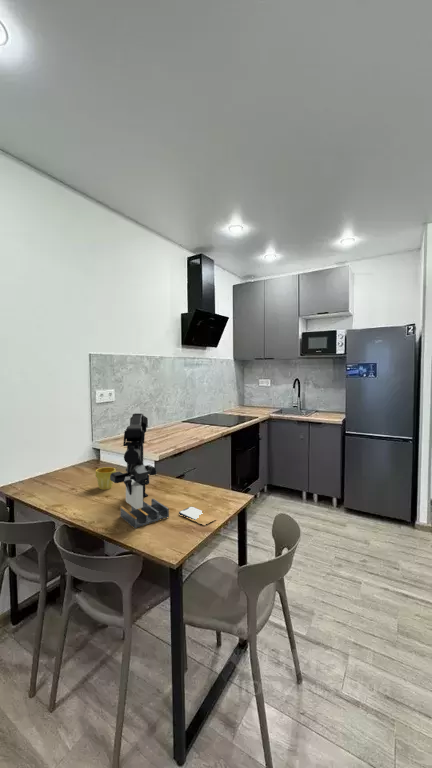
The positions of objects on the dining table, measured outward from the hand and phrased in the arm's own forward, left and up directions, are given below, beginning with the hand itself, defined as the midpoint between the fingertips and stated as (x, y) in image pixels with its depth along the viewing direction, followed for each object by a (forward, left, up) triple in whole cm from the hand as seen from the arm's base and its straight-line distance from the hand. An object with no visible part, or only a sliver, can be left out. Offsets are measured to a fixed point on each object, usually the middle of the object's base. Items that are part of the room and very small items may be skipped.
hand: (134, 493), depth 135 cm
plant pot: (-45, +5, -12) cm, 47 cm away
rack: (0, +5, -11) cm, 12 cm away
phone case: (+14, +23, -12) cm, 30 cm away
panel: (0, 0, -4) cm, 5 cm away
